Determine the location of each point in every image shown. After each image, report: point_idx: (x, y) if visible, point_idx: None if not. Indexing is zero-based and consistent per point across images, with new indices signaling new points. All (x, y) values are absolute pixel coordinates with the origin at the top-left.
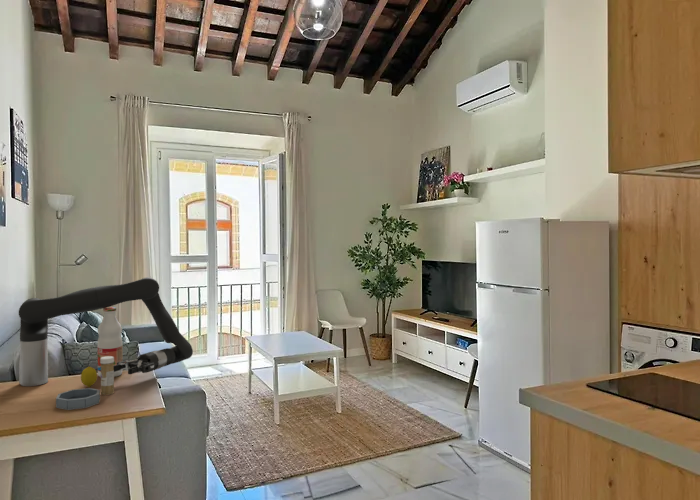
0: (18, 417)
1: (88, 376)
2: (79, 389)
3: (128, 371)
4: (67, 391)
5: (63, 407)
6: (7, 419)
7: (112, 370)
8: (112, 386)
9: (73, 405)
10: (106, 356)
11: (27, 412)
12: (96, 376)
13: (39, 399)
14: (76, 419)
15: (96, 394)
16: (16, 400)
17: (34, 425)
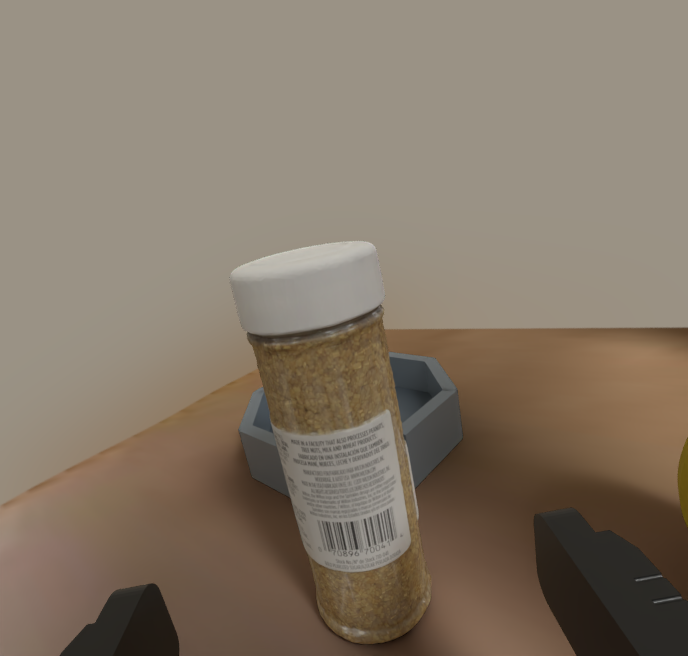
0: (391, 340)
1: (682, 451)
2: (425, 405)
3: (157, 613)
4: (440, 375)
5: None
6: (400, 330)
7: (270, 413)
8: (308, 555)
9: None
10: (338, 247)
11: (417, 349)
12: None
13: (574, 374)
14: (206, 397)
15: (246, 423)
16: (623, 341)
17: None
